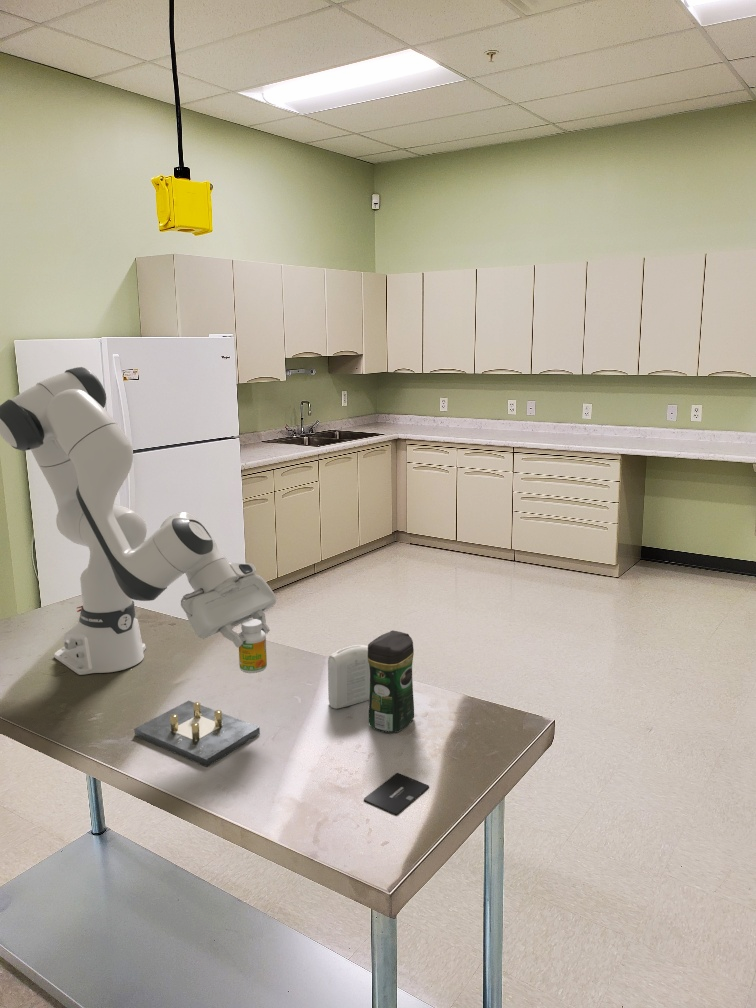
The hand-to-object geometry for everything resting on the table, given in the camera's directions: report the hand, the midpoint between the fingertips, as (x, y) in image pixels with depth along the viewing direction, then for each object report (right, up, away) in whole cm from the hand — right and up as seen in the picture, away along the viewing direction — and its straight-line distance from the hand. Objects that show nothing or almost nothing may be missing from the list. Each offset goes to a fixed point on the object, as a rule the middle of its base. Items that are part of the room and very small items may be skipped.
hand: (254, 639), depth 152 cm
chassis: (-11, -19, -1) cm, 22 cm away
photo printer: (+19, -16, +12) cm, 27 cm away
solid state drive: (+28, -23, -20) cm, 42 cm away
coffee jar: (+27, -18, +3) cm, 32 cm away
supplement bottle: (0, -6, +2) cm, 7 cm away
